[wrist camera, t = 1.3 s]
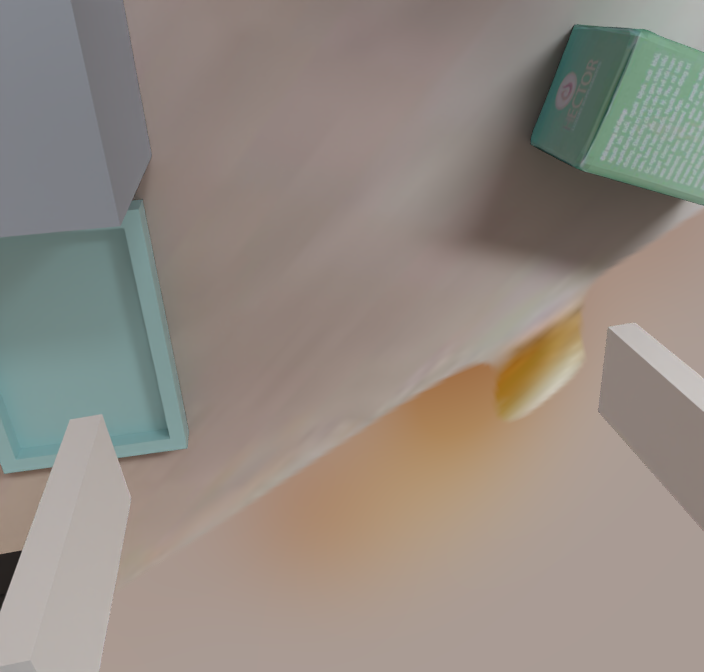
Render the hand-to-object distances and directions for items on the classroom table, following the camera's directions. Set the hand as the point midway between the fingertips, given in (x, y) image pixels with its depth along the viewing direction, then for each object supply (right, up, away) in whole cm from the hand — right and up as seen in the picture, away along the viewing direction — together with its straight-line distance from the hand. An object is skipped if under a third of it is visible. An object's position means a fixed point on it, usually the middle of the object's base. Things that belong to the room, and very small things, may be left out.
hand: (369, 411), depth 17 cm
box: (+18, +16, +25) cm, 34 cm away
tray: (-18, +2, +25) cm, 31 cm away
